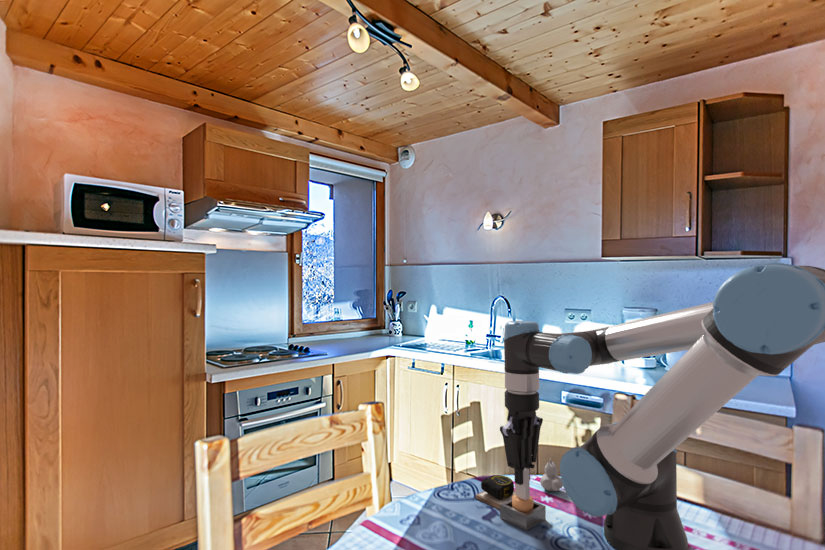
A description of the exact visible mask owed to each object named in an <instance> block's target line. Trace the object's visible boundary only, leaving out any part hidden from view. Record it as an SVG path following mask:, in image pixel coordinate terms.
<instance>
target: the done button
mask: <svg viewBox="0 0 825 550" xmlns="http://www.w3.org/2000/svg"><path fill="white" fill-rule="evenodd" d="M533 501H534V497H533V496H531V495H530V498H529V499H527V500H523V499H521V498H519V497H516V496H515V495H513V496H512V508H514V509H516V510H518V511H521V512H523V513H525V514H526V513H528V512H530V511H532V510H533Z"/></svg>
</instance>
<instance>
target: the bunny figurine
mask: <svg viewBox="0 0 825 550" xmlns="http://www.w3.org/2000/svg"><path fill="white" fill-rule="evenodd" d="M558 473H559V471H558V467H557V464H556V463H555V461H552V459H551V458H549V461H548V462H546V464H545V466H544V473H543V474H542V475H541V478H540V484H541V487H542V488H543V489H544V490H546V491H547V492H556V491H560V489H562V488H563V485H562V482H561V475H560V476H559V475H558Z"/></svg>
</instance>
